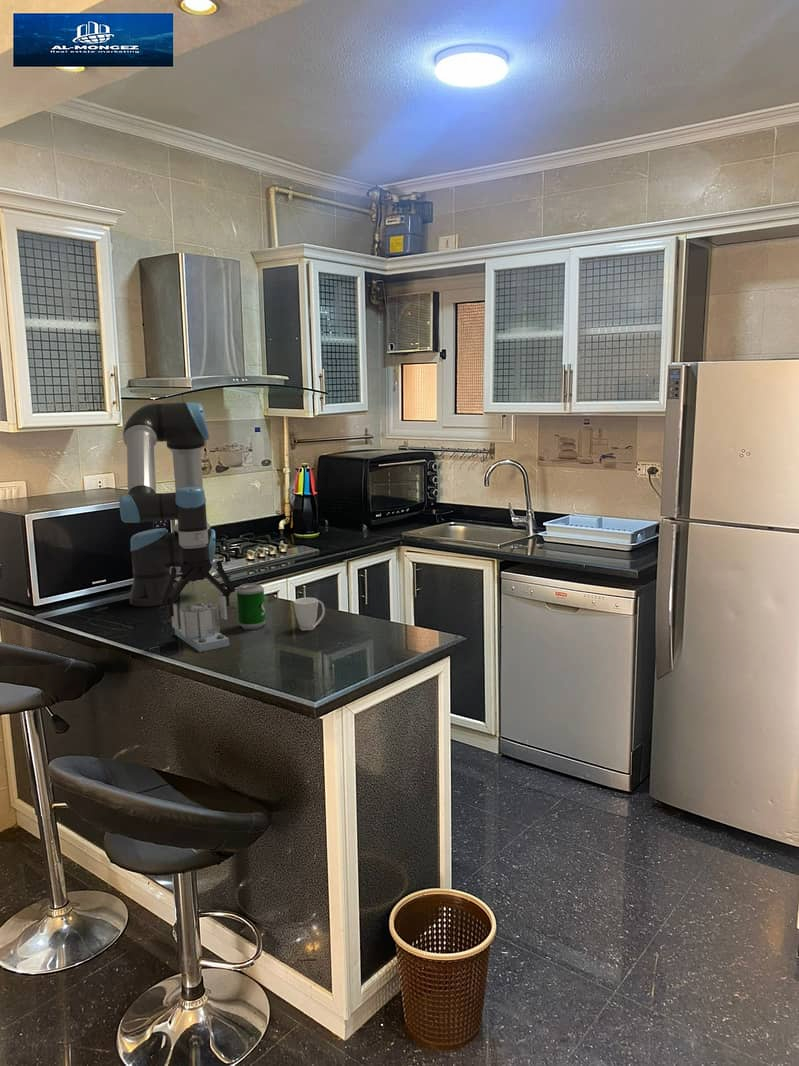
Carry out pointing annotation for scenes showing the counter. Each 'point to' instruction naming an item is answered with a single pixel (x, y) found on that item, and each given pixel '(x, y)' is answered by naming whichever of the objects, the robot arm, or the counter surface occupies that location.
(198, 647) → the block
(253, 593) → the soda can
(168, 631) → the counter surface
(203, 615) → the grey hollow octagonal piece
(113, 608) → the counter surface
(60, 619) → the counter surface
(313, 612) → the cup
